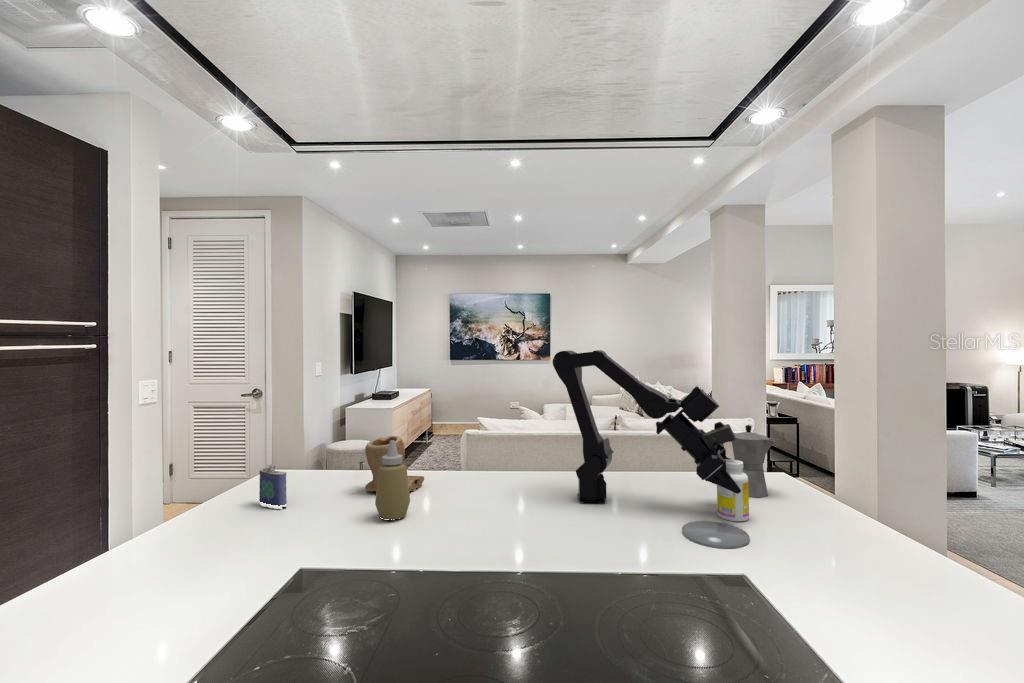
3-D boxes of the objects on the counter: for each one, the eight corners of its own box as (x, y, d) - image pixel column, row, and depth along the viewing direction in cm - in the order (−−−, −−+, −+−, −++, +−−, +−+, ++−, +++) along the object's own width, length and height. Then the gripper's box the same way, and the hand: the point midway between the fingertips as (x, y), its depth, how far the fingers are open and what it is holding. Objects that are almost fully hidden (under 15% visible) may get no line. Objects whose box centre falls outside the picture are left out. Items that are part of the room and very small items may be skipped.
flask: (289, 507, 120) (288, 465, 120) (278, 511, 118) (277, 467, 118) (266, 502, 125) (265, 461, 125) (255, 505, 122) (254, 463, 122)
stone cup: (357, 497, 128) (356, 441, 128) (374, 484, 140) (373, 432, 140) (412, 498, 126) (412, 441, 126) (425, 484, 138) (424, 433, 138)
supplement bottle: (742, 512, 113) (741, 458, 113) (753, 523, 107) (753, 465, 107) (713, 511, 114) (712, 457, 114) (722, 522, 107) (722, 464, 107)
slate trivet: (693, 548, 94) (693, 545, 94) (674, 523, 107) (674, 520, 107) (761, 548, 93) (761, 545, 93) (733, 523, 106) (733, 520, 106)
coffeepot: (782, 493, 127) (781, 425, 127) (770, 502, 120) (769, 430, 120) (723, 482, 138) (722, 419, 138) (709, 489, 131) (708, 423, 131)
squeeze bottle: (367, 520, 110) (367, 442, 111) (389, 509, 118) (388, 436, 118) (397, 525, 107) (396, 445, 107) (417, 513, 115) (416, 438, 115)
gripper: (712, 418, 103) (770, 474, 99) (713, 407, 121) (763, 454, 116) (674, 452, 107) (729, 507, 102) (680, 436, 124) (728, 483, 119)
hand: (739, 486), depth 110 cm, fingers open, 9 cm apart
